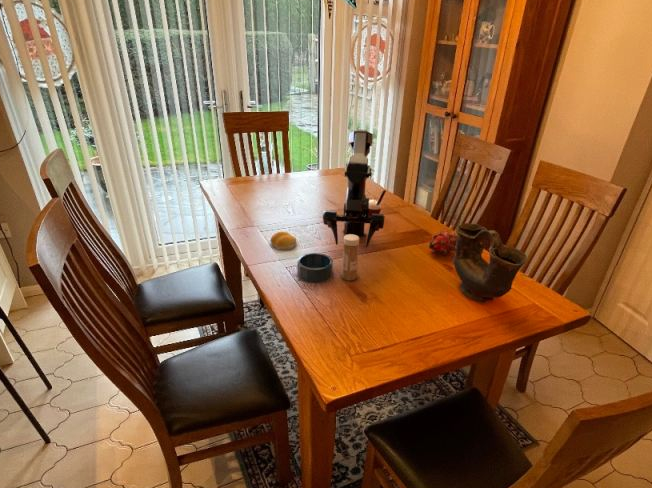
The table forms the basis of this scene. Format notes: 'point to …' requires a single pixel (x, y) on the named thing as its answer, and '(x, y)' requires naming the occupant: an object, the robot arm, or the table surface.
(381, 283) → the table surface
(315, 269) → the bowl
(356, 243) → the spice jar
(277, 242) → the bread roll
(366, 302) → the table surface
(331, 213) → the robot arm
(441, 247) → the dragon fruit
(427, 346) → the table surface
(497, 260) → the pottery vessel
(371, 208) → the cocoa
